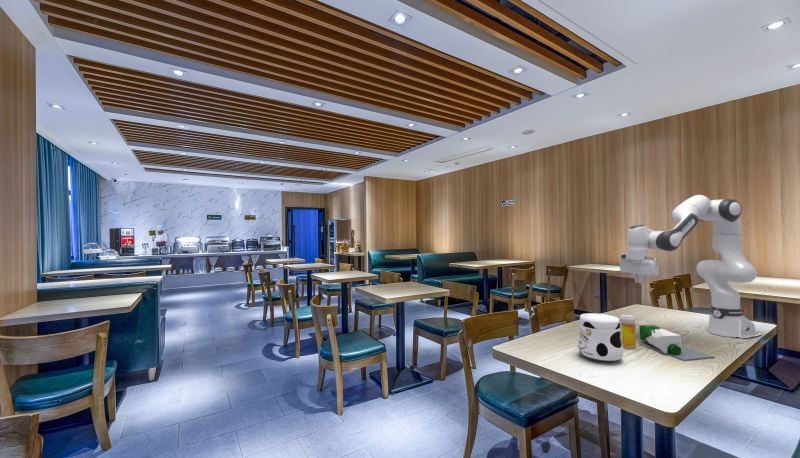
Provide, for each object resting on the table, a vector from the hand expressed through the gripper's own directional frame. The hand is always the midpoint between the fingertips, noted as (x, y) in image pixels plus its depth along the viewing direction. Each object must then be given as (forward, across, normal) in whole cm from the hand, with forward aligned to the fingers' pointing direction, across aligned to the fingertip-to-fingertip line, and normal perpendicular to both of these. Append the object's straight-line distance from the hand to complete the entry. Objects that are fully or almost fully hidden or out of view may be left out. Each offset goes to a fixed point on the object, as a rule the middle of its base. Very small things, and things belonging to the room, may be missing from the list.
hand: (639, 282), depth 176 cm
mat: (+29, -19, +1) cm, 34 cm away
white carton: (+24, -5, +2) cm, 24 cm away
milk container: (+29, -18, +40) cm, 52 cm away
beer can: (+29, -9, +17) cm, 35 cm away
